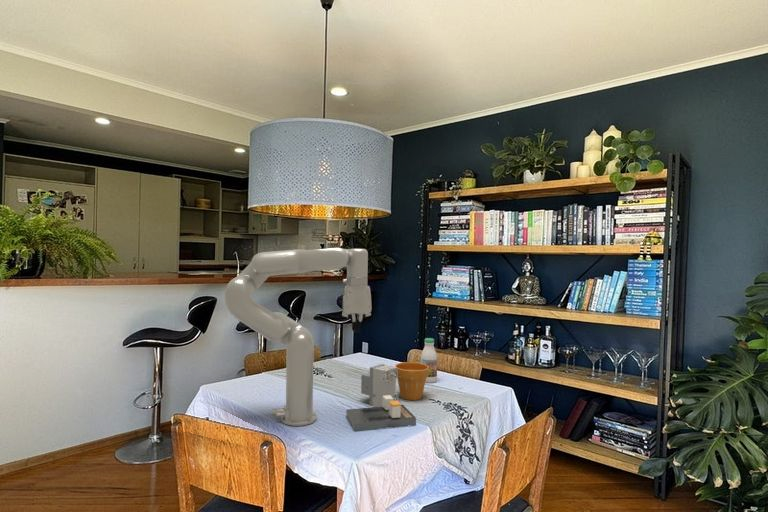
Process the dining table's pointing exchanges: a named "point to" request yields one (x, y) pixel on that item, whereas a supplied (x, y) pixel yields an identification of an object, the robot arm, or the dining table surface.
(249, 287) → the robot arm
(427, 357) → the milk bottle
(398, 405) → the lever
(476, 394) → the dining table surface
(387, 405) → the on lever
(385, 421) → the slotted slider board
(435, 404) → the dining table surface
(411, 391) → the flower pot
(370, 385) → the circuit breaker
